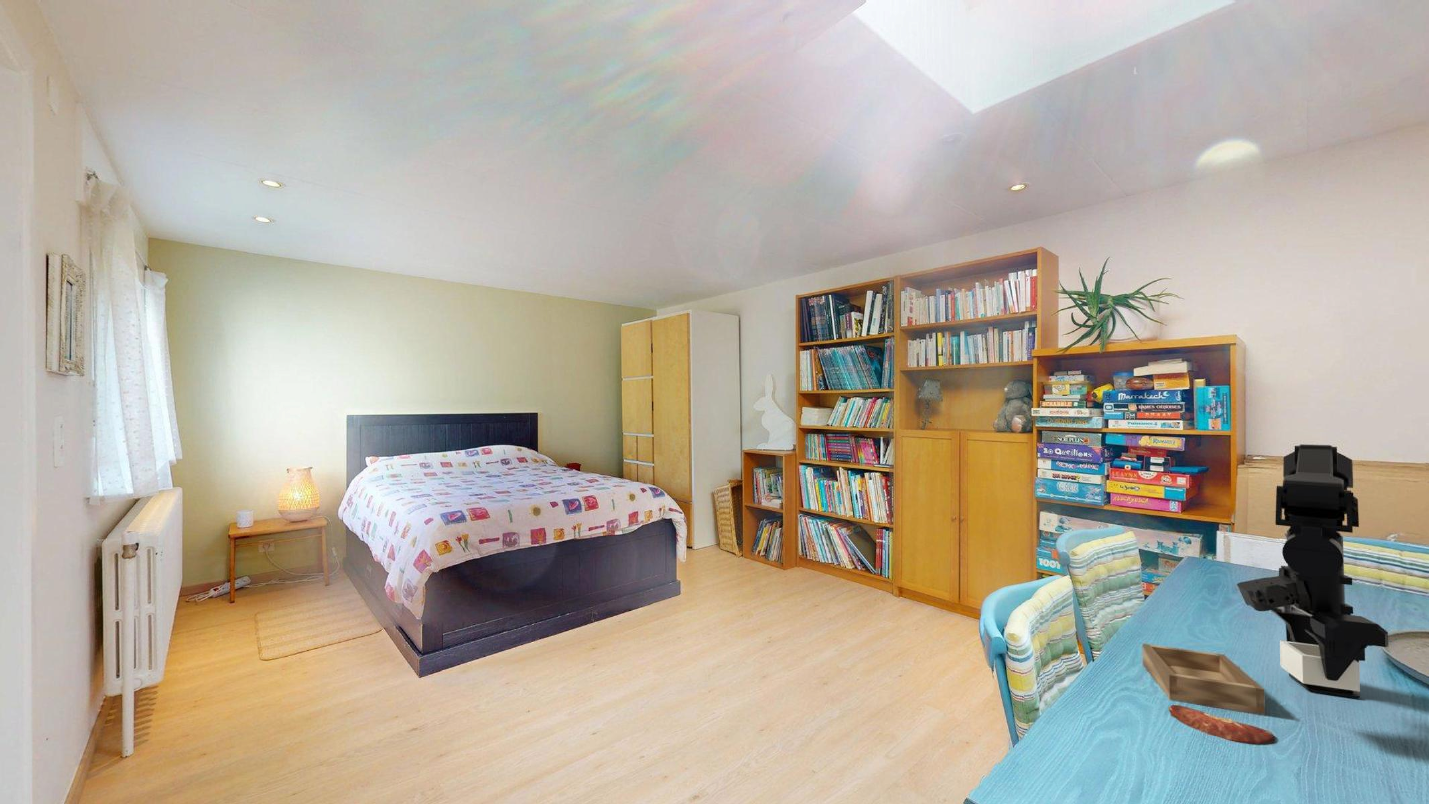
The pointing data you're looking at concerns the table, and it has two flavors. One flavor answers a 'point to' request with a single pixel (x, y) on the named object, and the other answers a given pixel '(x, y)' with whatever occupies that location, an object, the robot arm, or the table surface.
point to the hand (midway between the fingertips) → (1318, 670)
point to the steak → (1221, 726)
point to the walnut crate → (1203, 679)
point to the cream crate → (1314, 666)
